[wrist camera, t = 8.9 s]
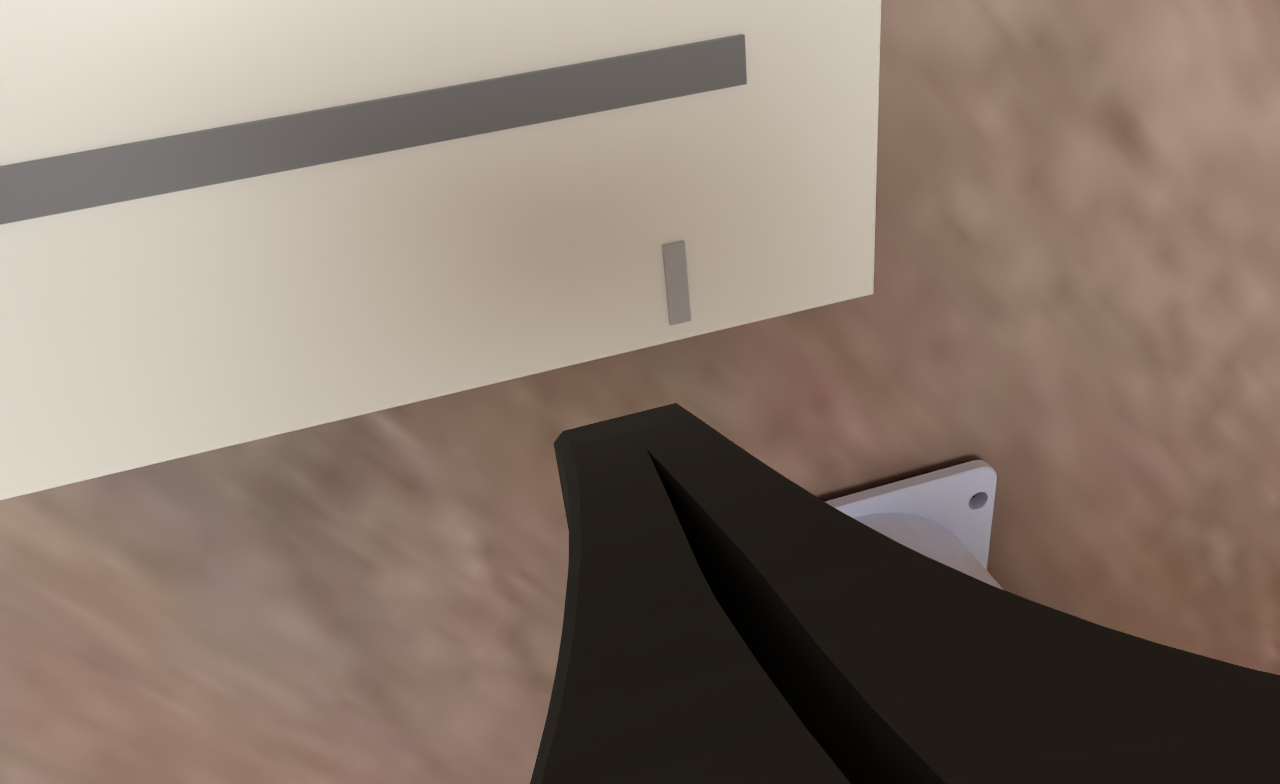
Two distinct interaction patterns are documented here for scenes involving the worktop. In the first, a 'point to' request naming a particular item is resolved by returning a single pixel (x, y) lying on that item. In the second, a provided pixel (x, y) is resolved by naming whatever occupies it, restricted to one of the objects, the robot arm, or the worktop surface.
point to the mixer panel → (400, 202)
